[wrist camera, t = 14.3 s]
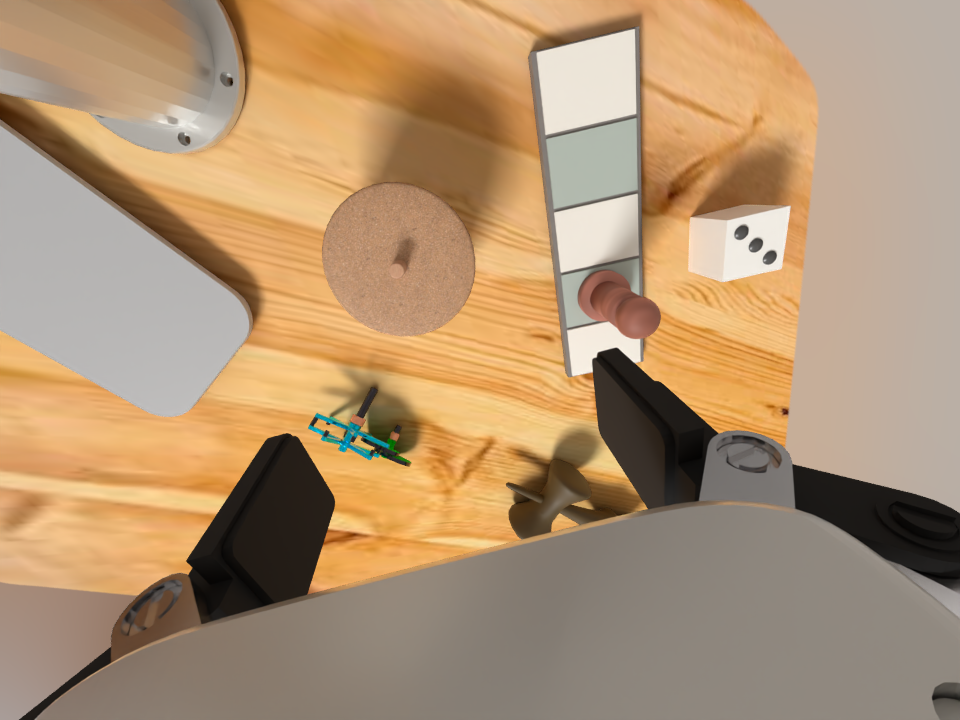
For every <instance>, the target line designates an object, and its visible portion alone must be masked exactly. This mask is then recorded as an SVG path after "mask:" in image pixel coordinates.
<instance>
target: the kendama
mask: <svg viewBox="0 0 960 720" xmlns="http://www.w3.org/2000/svg"><path fill="white" fill-rule="evenodd" d="M506 486H507V487H508V488H510V489H511V490H513V491H515V492H517V493H519V494H521V495H523V496H525V497H528V498H530V499H532V500H531V501H527V502H523V503H518V504H514V505H512V506H511V508H510V510H509V520H510V523H511V526H512V528H513V530H514V531H515V533H516V534H517V536H518V537H519V538H521V539H526V538H530V537H534V536H538V535H542V534H546V533H550V532H551V525H552V522H553V520H554V519H555V517H556V516H557V515H558V514H559V513H561V514H562V515H564V516H566V517H568V518H569V519H571V520H573V521H574V522H576V523H578V524H579V525H582V524H586V523H591V522H595V521H599V520H603V519H608V518H612V517H616V516H617V515H616V513H615V512H614V511H613V510H612V509H610V508H603V509H601V510H599V511H597V510H591V509H586V508H582V507H578V506H574V505H571V504H573V503H577V502H580V501H584V500H587V499H589V498H590V497H591V489H590V486H589V484H588V482H587V480H586V479H585V477H584V476H583V475H582V474H581V473H580V472H579V471H578V470H577V469H576V468H574V467H573V466H572V465H570V464H568V463H567V462H564V461H562V460H558V459H556V460H552V462H551V464H550V467H549V473H548V480H547V483H546V485H545V487H544V488H543V490H542V491H541V492H540V493H537V492H535V491H532V490H529V489H527V488H524V487H522V486H519V485H516V484H513V483H509V482H508V483H506Z"/></svg>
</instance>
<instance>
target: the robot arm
mask: <svg viewBox="0 0 960 720" xmlns="http://www.w3.org/2000/svg"><path fill="white" fill-rule="evenodd" d="M232 79H233V85H231V80H232ZM0 93H2V94H7V95H11V96H16V97H20V98H24V99H29V100H33V101H38V102H42V103H47V104H51V105H55V106H60V107H64V108H69V109H73V110H77V111H82V112H86V113H89V114H90V115H91V116H93V117H94V118H95V119H96V120H97V121H98V122H99V123H100V124H102V125H103V126H105V127H106V128H107V129H109V130H110V131H112V132H113V133H115V134H116V135H117V136H119V137H121V138H123V139H125V140H127V141H129V142H131V143H133V144H135V145H138V146H141V147H144V148H147V149H150V150H153V151H158V152H164V153H170V154H190V153H196V152H201V151H204V150H206V149H208V148H210V147H213V146H215V145H216V144H217V143H218V142H220V141H221V140H222V139H223V138H225V137H226V136H227V135H228V133H229V132H230V131H231V129H232V128H233V127H234V125H235V124H236V121H237V119H238V117H239V114H240V112H241V110H242V105H243V100H244V95H245V68H244V62H243V55H242V51H241V47H240V44H239V41H238V38H237V34H236V31H235V29H234V27H233V25H232V22H231V20H230V18H229V16H228V14H227V12H226V10H225V8H224V6H223V5H222V3H221V2H220V0H0ZM189 138H190V140H191V142H189ZM592 368H593V378H594V388H595V398H596V408H597V418H598V427H599V431H600V434H601V436H602V438H603V440H604V441H605V443H606V445H607V446H608V448H609V449H610V451H611V452H612V454H613V455H614V457H615V458H616V460H617V462H618V463H619V465H620V466H621V468H622V469H623V471H624V472H625V474H626V475H627V477H628V479H629V480H630V482H631V483H632V485H633V486H634V488H635V489H636V491H637V492H638V494H639V496H640V497H641V499H642V500H643V502H644V503H645V505H646V506H647V508H648V509H647V510H642V511H638V512H634V513H629V514H625V515H621V516H616V517H612V518H608V519H603V520H599V521H595V522H591V523H586V524H582V525H578V526H574V527H570V528H566V529H562V530H558V531H554V532H550V533H546V534H542V535H538V536H534V537H530V538H526V539H522V540H518V541H514V542H510V543H506V544H502V545H498V546H494V547H490V548H486V549H482V550H478V551H474V552H471V553H467V554H463V555H459V556H455V557H451V558H447V559H443V560H439V561H435V562H431V563H428V564H424V565H420V566H416V567H412V568H408V569H404V570H400V571H396V572H393V573H389V574H385V575H381V576H377V577H373V578H369V579H366V580H362V581H358V582H354V583H350V584H347V585H343V586H339V587H335V588H331V589H328V590H324V591H320V592H316V593H312V594H308V590H309V587H310V584H311V581H312V578H313V574H314V571H315V568H316V565H317V562H318V559H319V555H320V552H321V549H322V546H323V543H324V539H325V536H326V533H327V530H328V527H329V523H330V520H331V517H332V514H333V511H334V507H335V499H334V496H333V494H332V492H331V491H330V489H329V487H328V486H327V484H326V482H325V481H324V479H323V478H322V476H321V474H320V473H319V471H318V469H317V468H316V466H315V464H314V463H313V461H312V459H311V458H310V456H309V454H308V453H307V451H306V450H305V448H304V446H303V445H302V443H301V441H300V440H299V438H298V437H296V436H292V435H291V434H289V433H286V434H282V435H278V436H274V437H271V438H268V439H267V440H266V441H265V442H264V444H263V445H262V447H261V448H260V450H259V451H258V453H257V454H256V456H255V457H254V459H253V460H252V462H251V463H250V465H249V467H248V468H247V470H246V471H245V473H244V474H243V476H242V477H241V479H240V480H239V482H238V483H237V485H236V486H235V488H234V489H233V491H232V492H231V494H230V495H229V497H228V498H227V500H226V501H225V503H224V504H223V506H222V507H221V509H220V510H219V512H218V513H217V515H216V516H215V518H214V520H213V521H212V523H211V524H210V526H209V527H208V529H207V530H206V532H205V533H204V535H203V536H202V538H201V539H200V541H199V542H198V544H197V545H196V547H195V548H194V550H193V551H192V553H191V554H190V556H189V557H188V559H187V560H186V562H187V563H188V564H189V565H190V566H191V567H192V570H191V572H190V573H189V575H187V574H183V573H177V574H172V575H169V576H167V577H165V578H162V579H161V580H159V581H157V582H156V583H154V584H152V585H151V586H149V587H148V588H147V589H146V590H144V591H143V592H142V593H141V594H139V595H138V596H137V597H136V598H135V599H134V600H133V601H132V602H131V603H130V604H129V605H128V606H127V608H126V609H125V610H124V611H123V613H122V614H121V615H120V616H119V618H118V620H117V622H116V623H115V625H114V627H113V630H112V635H111V647H110V648H109V649H108V650H106V651H105V652H104V653H103V654H101V655H100V656H99V657H98V658H96V659H95V660H94V661H92V662H91V663H90V664H89V665H87V666H86V667H85V668H84V669H82V670H81V671H80V672H79V673H77V674H76V675H75V676H74V677H72V678H71V679H70V680H69V681H67V682H66V683H65V684H64V685H62V686H61V687H60V688H59V689H57V690H56V691H55V692H53V693H52V694H51V695H50V696H48V697H47V698H46V699H45V700H43V701H42V702H41V703H40V704H38V705H37V706H36V707H34V708H33V709H32V710H31V711H30V712H28V713H27V714H26V715H24V716H23V717H22V718H21V719H19V720H960V513H958V512H957V511H955V510H954V509H952V508H950V507H948V506H946V505H943V504H941V503H939V502H937V501H935V500H932V499H929V498H926V497H923V496H919V495H916V494H912V493H908V492H904V491H900V490H896V489H892V488H888V487H884V486H880V485H876V484H871V483H868V482H863V481H859V480H855V479H851V478H847V477H843V476H839V475H835V474H830V473H826V472H822V471H818V470H814V469H810V468H806V467H802V466H797V465H794V464H792V460H791V457H790V455H789V453H788V452H787V451H786V449H785V448H784V447H783V446H782V445H780V444H779V443H777V442H776V441H774V440H773V439H770V438H768V437H766V436H763V435H761V434H757V433H753V432H749V431H737V430H736V431H726V432H723V433H720V434H718V433H717V432H716V431H715V430H714V429H713V428H712V427H711V426H709V425H708V424H707V423H706V422H705V421H704V420H703V419H702V418H701V417H699V416H698V415H697V414H696V413H695V412H694V411H693V410H692V409H690V408H689V407H688V406H687V405H686V404H685V403H684V402H683V401H681V400H680V399H679V398H678V397H677V396H676V395H675V394H674V393H673V392H671V391H670V390H669V389H668V388H667V387H666V386H665V385H664V384H662V383H661V382H659V381H654V380H652V379H651V378H650V377H649V376H648V375H647V374H646V373H645V372H644V371H643V370H642V369H640V368H639V367H638V366H637V365H636V364H635V363H634V362H633V361H632V360H631V359H630V358H628V357H627V356H626V355H625V354H624V353H623V352H622V351H621V350H620V349H619V348H617V347H616V348H612V349H608V350H604V351H600V352H598V353H597V357H596V358H593V359H592ZM307 594H308V595H307Z"/></svg>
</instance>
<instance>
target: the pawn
mask: <svg viewBox="0 0 960 720" xmlns="http://www.w3.org/2000/svg"><path fill="white" fill-rule="evenodd" d="M577 298H578V304H579V306H580V308H581V310H582V311H583V312H584V313H585V314H586V315H587V316H588V317H590V318H591V319H593V320H596V321H609V322H610V323H611V324H612V325H614V326H615V327H616V328H617V329H618V330H619V331H620V333H621V334H623V335H624V336H626V337H628V338H631V339H642V338H645V337H648V336H650V335H651V334H652V333H654V332H655V331H656V329H657V328H658V326H659V324H660V320H661V315H660V311H659V308H658V306H657V305H656V304H655V303H654V302H653V301H651V300H650V299H647V298H644V297H641V296H639V295H637V294H636V293H634V292H632V291H631V288H630V285H629V282H628V281H627V279H626V278H625V277H624V276H622V275H620V274H618V273H616V272H614V271H611V270H599V271H596V272H594V273H592V274H590V275H589V276H588V277H587V278H585V280H584V281H583V282H582V284H581V285H580V288H579V290H578V296H577Z"/></svg>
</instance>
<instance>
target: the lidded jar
mask: <svg viewBox="0 0 960 720" xmlns="http://www.w3.org/2000/svg"><path fill="white" fill-rule="evenodd" d="M322 258H323V266H324V272H325V275H326V278H327V281H328V284H329V286H330V288H331V290H332V292H333V294H334V296H335V297H336V299H337V300H338V301H339V303H340V304H341V306H342V307H343V308H344V309H345V310H346V311H347V312H348V313H349V314H350V315H351V316H353V317H354V318H355V319H356V320H358V321H359V322H360V323H362V324H364V325H365V326H367V327H369V328H371V329H373V330H376V331H378V332H381V333H385V334H389V335H395V336H415V335H421V334H425V333H428V332H431V331H434V330H436V329H438V328H440V327H442V326H443V325H445V324H446V323H447V322H449V321H450V320H451V319H452V318H453V317H454V316H455V315H456V314H457V313H458V312H459V311H460V310H461V308H462V307H463V306H464V304H465V303H466V301H467V299H468V297H469V295H470V292H471V289H472V286H473V283H474V276H475V255H474V249H473V245H472V241H471V238H470V235H469V233H468V231H467V229H466V227H465V225H464V223H463V222H462V220H461V219H460V217H459V216H458V215H457V213H456V212H455V211H454V210H453V209H452V208H451V207H450V206H449V205H448V204H447V203H446V202H445V201H444V200H442V199H441V198H440V197H438V196H437V195H435V194H433V193H432V192H430V191H428V190H426V189H424V188H421V187H418V186H415V185H412V184H406V183H400V182H385V183H380V184H374V185H371V186H368V187H366V188H363V189H361V190H359V191H357V192H356V193H354V194H352V195H351V196H349V197H348V198H347V199H346V200H345V201H344V202H343V203H342V204H341V205H340V206H339V207H338V208H337V210H336V211H335V212H334V214H333V216H332V217H331V219H330V221H329V223H328V225H327V228H326V232H325V235H324V240H323V247H322Z"/></svg>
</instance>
